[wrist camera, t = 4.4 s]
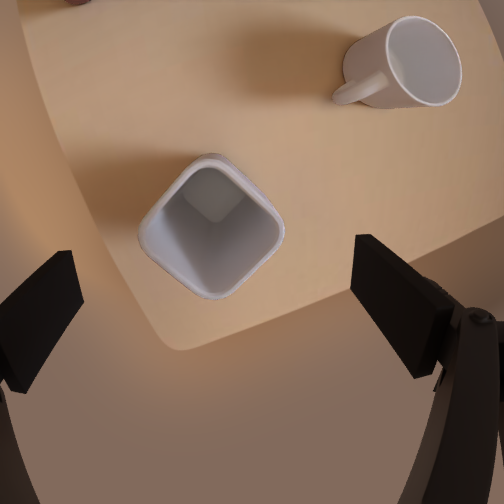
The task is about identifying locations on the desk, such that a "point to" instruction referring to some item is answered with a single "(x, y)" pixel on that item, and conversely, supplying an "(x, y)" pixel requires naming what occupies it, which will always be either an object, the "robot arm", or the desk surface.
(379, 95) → the mug
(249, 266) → the cup
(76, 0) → the beverage can
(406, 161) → the desk surface
